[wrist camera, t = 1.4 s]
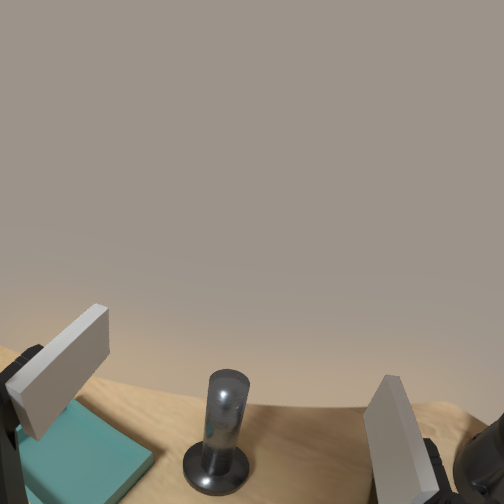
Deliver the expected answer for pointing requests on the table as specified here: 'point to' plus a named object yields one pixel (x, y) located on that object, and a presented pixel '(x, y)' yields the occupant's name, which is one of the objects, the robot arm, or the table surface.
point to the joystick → (220, 438)
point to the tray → (80, 460)
